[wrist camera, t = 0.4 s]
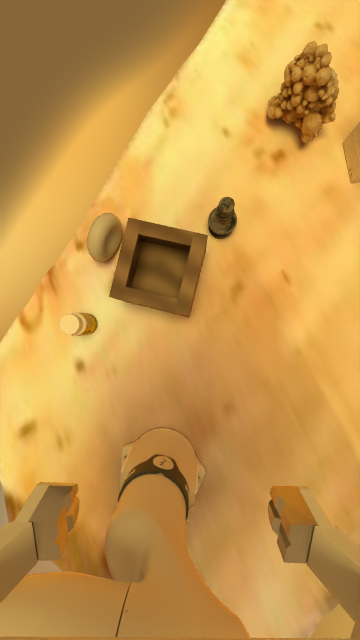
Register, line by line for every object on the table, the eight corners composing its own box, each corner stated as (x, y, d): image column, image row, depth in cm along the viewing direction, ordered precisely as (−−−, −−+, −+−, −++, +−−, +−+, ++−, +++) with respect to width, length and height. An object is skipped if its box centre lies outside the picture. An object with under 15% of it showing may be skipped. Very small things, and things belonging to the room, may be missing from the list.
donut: (115, 222, 56) (98, 200, 46) (129, 228, 56) (114, 207, 46) (97, 262, 56) (76, 249, 46) (111, 268, 56) (93, 257, 46)
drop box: (189, 317, 55) (188, 315, 45) (124, 301, 56) (109, 296, 46) (205, 251, 55) (207, 235, 45) (140, 236, 56) (128, 217, 46)
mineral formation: (279, 93, 54) (311, 5, 39) (329, 127, 54) (382, 51, 39) (256, 122, 55) (280, 47, 40) (306, 157, 54) (349, 94, 39)
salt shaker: (203, 219, 55) (206, 190, 43) (229, 209, 55) (238, 177, 43) (212, 244, 55) (217, 221, 43) (238, 234, 54) (250, 209, 43)
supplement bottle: (79, 336, 56) (59, 338, 48) (75, 316, 56) (54, 314, 48) (99, 332, 56) (83, 333, 48) (95, 311, 56) (78, 309, 48)
